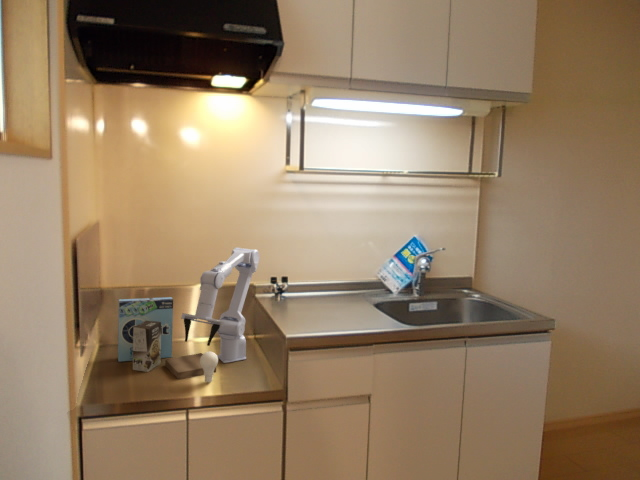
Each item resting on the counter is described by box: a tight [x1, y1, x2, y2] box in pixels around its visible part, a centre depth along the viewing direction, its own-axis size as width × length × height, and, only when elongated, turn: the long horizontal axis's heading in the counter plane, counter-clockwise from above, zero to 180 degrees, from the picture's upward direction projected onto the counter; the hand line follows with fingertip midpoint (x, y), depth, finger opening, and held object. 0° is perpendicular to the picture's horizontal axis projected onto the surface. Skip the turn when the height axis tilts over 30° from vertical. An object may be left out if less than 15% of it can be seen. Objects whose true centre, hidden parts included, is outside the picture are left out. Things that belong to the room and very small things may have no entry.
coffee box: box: [132, 321, 162, 373], centre depth 184 cm, size 9×6×16 cm
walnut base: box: [164, 352, 217, 380], centre depth 185 cm, size 14×14×2 cm
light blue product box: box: [117, 296, 174, 363], centre depth 192 cm, size 20×5×23 cm, turn 113°
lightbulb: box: [200, 351, 219, 384], centre depth 174 cm, size 6×6×11 cm
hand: (197, 343), depth 174 cm, fingers open, 7 cm apart
